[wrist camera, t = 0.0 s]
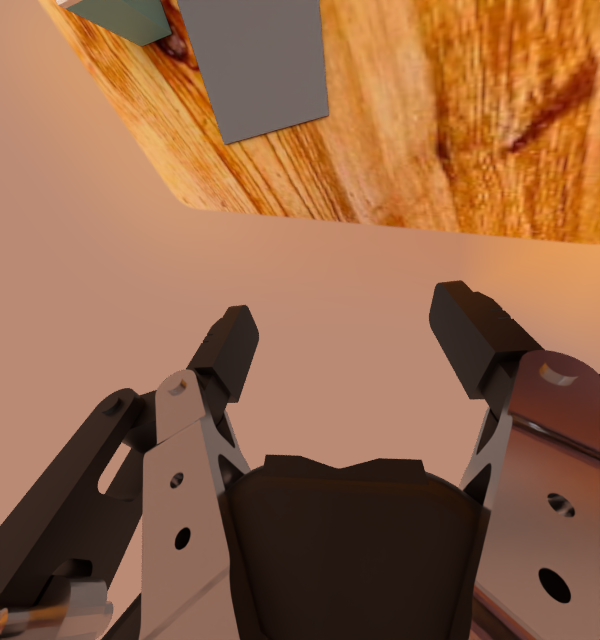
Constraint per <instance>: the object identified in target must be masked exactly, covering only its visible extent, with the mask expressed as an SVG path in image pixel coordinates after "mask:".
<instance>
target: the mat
mask: <svg viewBox="0 0 600 640" xmlns="http://www.w3.org/2000/svg"><path fill="white" fill-rule="evenodd" d="M177 2H178V5H179V8H180V12H181V15H182V18H183V21H184V24H185V27H186V30H187V33H188V36H189V39H190V42H191V45H192V48H193V51H194V54H195V57H196V60H197V63H198V66H199V69H200V72H201V75H202V78H203V81H204V84H205V87H206V90H207V93H208V97H209V100H210V103H211V106H212V109H213V112H214V115H215V118H216V121H217V124H218V127H219V130H220V133H221V136H222V139H223V142H224V145H225V144H229V143H233V142H236V141H240V140H243V139H247V138H250V137H254V136H257V135H261V134H265V133H268V132H272V131H275V130H279V129H282V128H286V127H289V126H293V125H296V124H300V123H304V122H307V121H311V120H314V119H318V118H321V117H325V116H328V115H329V111H328V100H327V88H326V77H325V65H324V54H323V42H322V30H321V19H320V7H319V0H177Z"/></svg>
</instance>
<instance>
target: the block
mask: <svg viewBox="0 0 600 640" xmlns="http://www.w3.org/2000/svg"><path fill="white" fill-rule="evenodd" d="M56 2H57V4H58V5H59V6H61V7H63V8H65V9H67V10H69V11H71V12H73V13H75V14H77V15H79V16H81V17H83V18H85V19H87V20H89V21H91V22H93V23H95V24H97V25H99V26H101V27H103V28H105V29H107V30H109V31H111V32H113V33H115V34H117V35H119V36H121V37H123V38H126V39H128V40H130V41H132V42H134V43H136V44H138V45H140V46H144V45H147V44H149V43H151V42H154V41H156V40H158V39H161V38H163V37H166V36H168V35H170V34H172V33H171V30H170V27H169V24H168V21H167V19H166V16H165V13H164V10H163V7H162V5H161V2H160V0H56Z"/></svg>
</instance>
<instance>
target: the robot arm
mask: <svg viewBox="0 0 600 640" xmlns="http://www.w3.org/2000/svg"><path fill="white" fill-rule="evenodd" d="M429 322H430V327H431V329H432V331H433V333H434V335H435V336H436V338H437V340H438V342H439V344H440V346H441V347H442V349H443V351H444V353H445V355H446V357H447V358H448V360H449V362H450V364H451V366H452V367H453V369H454V371H455V373H456V375H457V376H458V379H459V380H460V382H461V383H462V386H463V388H464V389H465V391H466V393H467V395H468V397H469V399H485V400H486V402H487V403H488V405H489V407H488V409H487V411H486V413H485V417H484V420H483V423H482V426H481V429H480V432H479V435H478V439H477V442H476V445H475V448H474V451H473V454H472V457H471V460H470V462H469V464H468V466H467V468H466V470H465V472H464V474H463V477H462V479H461V482H460V484H459V487H456V486H455V485H453V484H451V483H449V482H448V481H446V480H444V479H442V478H440V477H438V476H435V475H433V474H431V473H428V472H425V470H424V466H423V463H422V460H411V459H382V458H379V459H375V460H371V461H368V462H364V463H360V464H356V465H353V466H349V467H346V468H341V469H338V468H334V467H331V466H328V465H325V464H322V463H319V462H316V461H314V460H311V459H308V458H305V457H302V456H291V455H288V456H287V455H266V457H265V462H264V465H263V466H260V467H258V468H256V469H253V470H252V471H251V470H250V468H249V466H248V463H247V462H246V460H245V458H244V457H243V455H242V453H241V451H240V448H239V445H238V442H237V439H236V437H235V434H234V431H233V428H232V425H231V422H230V420H229V417H228V414H227V412H226V410H225V408H226V405H227V403H237V402H238V401H239V398H240V395H241V392H242V389H243V386H244V383H245V380H246V377H247V374H248V371H249V368H250V365H251V362H252V359H253V356H254V353H255V350H256V347H257V344H258V341H259V332H258V329H257V326H256V324H255V322H254V320H253V317H252V315H251V313H250V310H249V308H248V307H247V306H246V305H241V306H231V307H229V308H228V309H227V311H226V313H225V314H224V316H223V318H220V319H219V320H218V321H217V322H216V323H215V324H214V325H213V326H212V327H211V329H210V330H209V332H208V333H207V336H206V337H205V339H204V340H203V343H201V345H200V347H199V348H198V350H197V352H196V353H195V355H194V356H193V358H192V360H191V361H190V363H189V365H188V367H187V368H186V370H181V371H178V372H176V373H174V374H172V375H170V376H169V377H168V378H166V379H165V380H164V381H163V383H162V384H161V385H160V386H159V388H158V389H157V390H155V391H152V392H149V393H146V394H143V395H138V394H137V393H136V392H135V391H133V390H132V389H130V388H125V389H121V390H118V391H116V392H114V393H112V394H111V395H109V396H108V397H106V398H105V399H104V400H103V401H101V402H100V403H99V404H98V405H97V407H96V408H95V409H94V410H93V412H92V413H91V414H90V415H89V417H88V418H87V419H86V420H85V422H84V423H83V424H82V425H81V426H80V428H79V429H78V430H77V432H76V433H75V434H74V435H73V436H72V438H71V439H70V440H69V441H68V443H67V444H66V445H65V446H64V447H63V449H62V450H61V451H60V452H59V454H58V455H57V456H56V457H55V459H54V460H53V461H52V462H51V464H50V465H49V466H48V467H47V469H46V470H45V471H44V472H43V474H42V475H41V476H40V477H39V479H38V480H37V481H36V482H35V484H34V485H33V486H32V487H31V489H30V490H29V491H28V492H27V493H26V495H25V496H24V497H23V499H22V500H21V501H20V502H19V503H18V505H17V506H16V507H15V508H14V510H13V511H12V512H11V513H10V515H9V516H8V517H7V518H6V519H5V521H4V522H3V523H2V524H1V526H0V640H95V639H97V638H98V637H99V636H100V635H102V633H103V632H104V631H105V629H106V628H107V627H108V625H109V622H110V620H111V618H112V614H113V604H112V602H110V601H107V591H108V589H109V587H110V585H111V582H112V580H113V578H114V576H115V574H116V571H117V569H118V567H119V565H120V562H121V560H122V558H123V556H124V554H125V551H126V549H127V547H128V545H129V542H130V540H131V538H132V536H133V534H134V531H135V529H136V527H137V525H138V522H139V520H140V518H141V516H142V514H143V519H142V522H143V523H142V592H141V593H140V594H139V595H138V596H137V598H136V599H135V600H134V601H133V602H132V604H131V605H130V606H129V607H128V608H127V610H126V611H125V612H124V613H123V614H122V615H121V617H120V618H119V619H118V620H117V621H116V622H115V624H114V625H113V626H112V627H111V628H110V630H109V631H108V632H107V633H106V634H105V635H104V637H103V638H102V639H101V640H600V374H598V373H597V372H596V371H595V370H594V369H593V368H591V367H590V366H588V365H587V364H585V363H584V362H582V361H580V360H578V359H576V358H574V357H571V356H569V355H565V354H563V353H559V352H554V351H548V350H545V349H543V348H542V347H541V346H540V345H539V344H538V343H537V342H536V341H535V340H534V339H533V338H532V337H531V336H530V335H529V334H528V333H527V332H526V331H525V330H524V329H523V328H522V327H521V326H520V325H519V324H518V323H517V322H516V321H515V320H514V319H511V317H510V315H509V314H508V313H506V311H503V310H502V308H501V307H500V306H499V305H498V304H497V303H496V302H495V301H494V300H493V299H492V298H490V297H488V296H486V295H484V294H481V293H480V292H473V291H472V290H471V289H470V288H469V287H468V286H467V285H466V284H465V283H464V282H463V281H451V282H442V283H438V284H437V285H436V287H435V290H434V295H433V299H432V304H431V308H430V313H429ZM121 442H122V443H124V444H126V445H128V446H129V447H131V450H130V452H129V453H128V455H127V457H126V458H125V460H124V462H123V464H122V465H121V467H120V469H119V470H118V472H117V474H116V476H115V477H114V479H113V481H112V482H111V484H110V486H109V488H108V490H107V491H106V493H105V494H101V493H100V492H99V491H98V481H99V478H100V476H101V474H102V473H103V471H104V469H105V468H106V466H107V464H108V463H109V461H110V460H111V458H112V457H113V455H114V453H115V452H116V450H117V448H118V447H119V445H120V444H121Z"/></svg>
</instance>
